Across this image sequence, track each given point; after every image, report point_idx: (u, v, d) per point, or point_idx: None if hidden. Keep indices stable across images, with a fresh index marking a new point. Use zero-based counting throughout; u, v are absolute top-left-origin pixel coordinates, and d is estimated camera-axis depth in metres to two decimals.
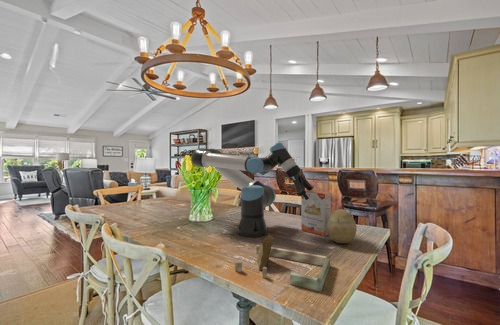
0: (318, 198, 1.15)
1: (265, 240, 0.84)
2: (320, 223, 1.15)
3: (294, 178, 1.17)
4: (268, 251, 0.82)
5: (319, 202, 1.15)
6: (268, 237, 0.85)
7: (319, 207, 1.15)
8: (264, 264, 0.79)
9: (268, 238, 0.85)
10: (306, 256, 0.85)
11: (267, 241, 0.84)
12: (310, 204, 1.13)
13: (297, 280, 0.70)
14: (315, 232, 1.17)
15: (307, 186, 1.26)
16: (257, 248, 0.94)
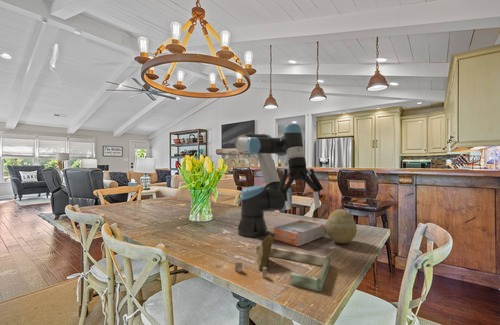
0: None
1: (265, 240, 0.84)
2: None
3: (283, 172, 0.98)
4: (268, 251, 0.82)
5: None
6: (268, 237, 0.85)
7: None
8: (264, 264, 0.79)
9: (268, 238, 0.85)
10: (306, 256, 0.85)
11: (267, 241, 0.84)
12: (286, 207, 0.94)
13: (297, 280, 0.70)
14: None
15: (311, 186, 1.00)
16: (257, 248, 0.94)
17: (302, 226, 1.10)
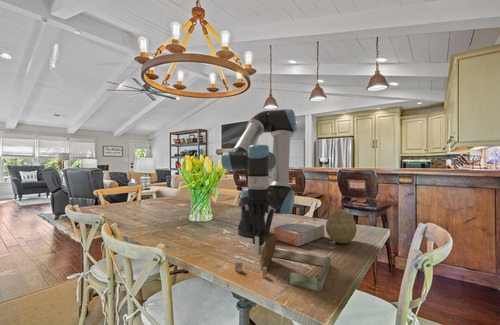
0: None
1: (269, 240, 0.83)
2: None
3: None
4: (271, 251, 0.81)
5: None
6: (272, 237, 0.85)
7: None
8: (266, 265, 0.79)
9: (272, 238, 0.84)
10: (306, 256, 0.85)
11: (271, 241, 0.83)
12: None
13: (297, 280, 0.70)
14: None
15: None
16: None
17: (302, 226, 1.10)
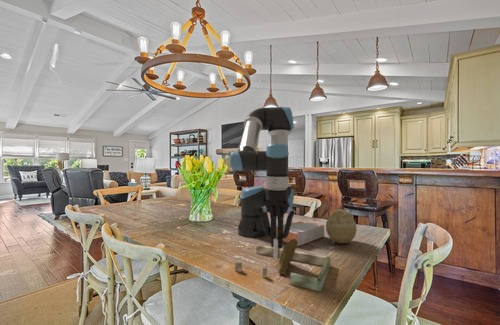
0: None
1: (289, 243, 0.80)
2: None
3: None
4: (290, 256, 0.78)
5: None
6: (292, 241, 0.81)
7: None
8: (284, 269, 0.76)
9: (292, 242, 0.81)
10: (306, 256, 0.85)
11: (291, 245, 0.80)
12: None
13: (297, 280, 0.70)
14: None
15: None
16: (257, 248, 0.94)
17: (302, 226, 1.10)
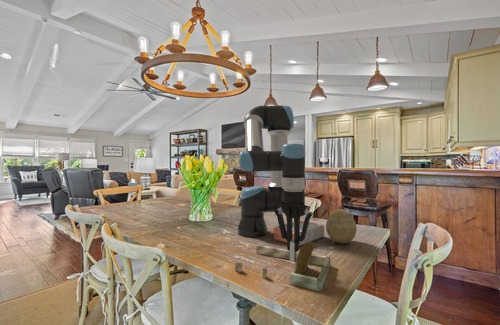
0: None
1: (304, 246, 0.78)
2: None
3: None
4: (306, 259, 0.75)
5: None
6: (308, 243, 0.78)
7: None
8: (299, 272, 0.74)
9: (308, 245, 0.78)
10: None
11: (307, 247, 0.77)
12: None
13: (297, 280, 0.70)
14: None
15: None
16: (257, 248, 0.94)
17: (302, 226, 1.10)
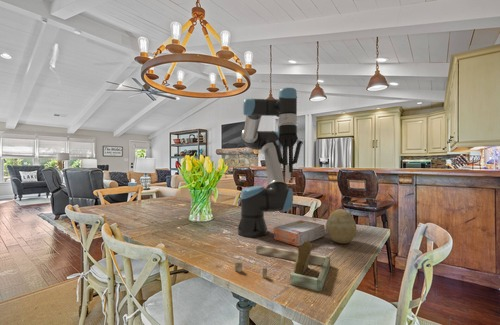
0: None
1: (302, 246, 0.78)
2: None
3: None
4: (304, 258, 0.75)
5: None
6: (306, 243, 0.79)
7: None
8: (298, 272, 0.74)
9: (306, 244, 0.79)
10: None
11: (304, 247, 0.78)
12: None
13: (297, 280, 0.70)
14: None
15: None
16: (257, 248, 0.94)
17: (302, 226, 1.10)
